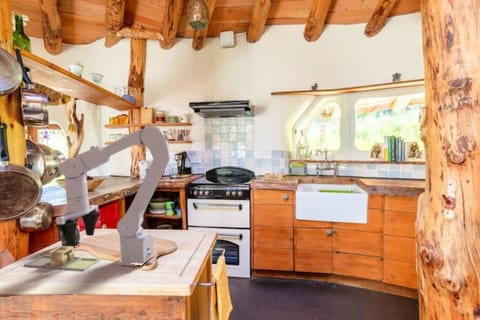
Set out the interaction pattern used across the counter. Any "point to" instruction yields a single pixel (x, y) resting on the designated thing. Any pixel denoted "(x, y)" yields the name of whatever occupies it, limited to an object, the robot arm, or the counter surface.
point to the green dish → (82, 264)
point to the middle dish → (60, 266)
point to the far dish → (39, 261)
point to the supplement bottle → (77, 237)
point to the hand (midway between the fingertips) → (81, 239)
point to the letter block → (62, 256)
